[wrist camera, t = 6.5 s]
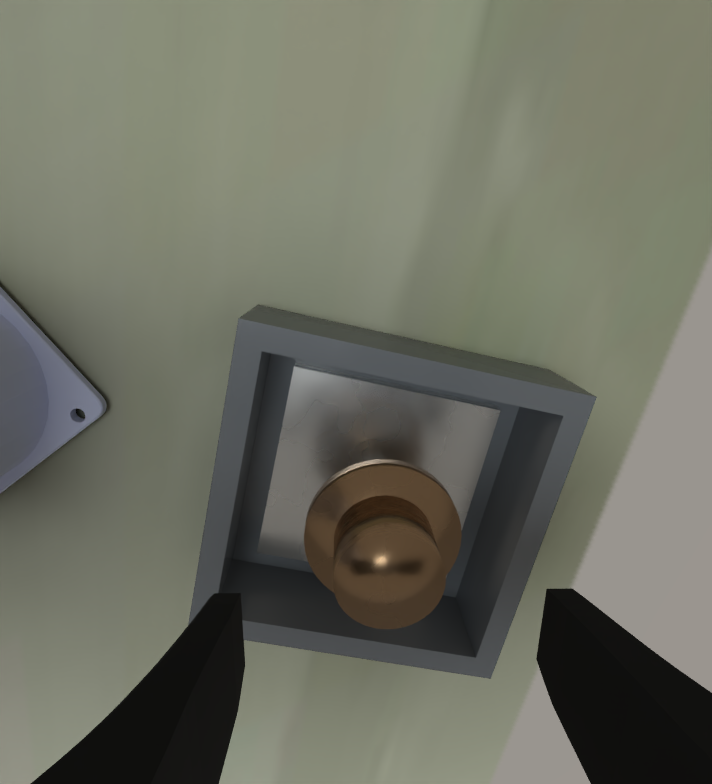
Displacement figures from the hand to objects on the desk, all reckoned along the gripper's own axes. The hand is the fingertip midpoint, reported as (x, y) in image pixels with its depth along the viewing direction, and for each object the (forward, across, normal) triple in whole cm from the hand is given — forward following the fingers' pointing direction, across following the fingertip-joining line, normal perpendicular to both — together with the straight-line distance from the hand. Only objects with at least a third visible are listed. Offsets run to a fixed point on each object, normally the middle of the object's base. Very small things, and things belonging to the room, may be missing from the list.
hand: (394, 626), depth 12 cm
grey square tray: (+8, 0, 0) cm, 8 cm away
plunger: (+8, 0, 0) cm, 8 cm away
